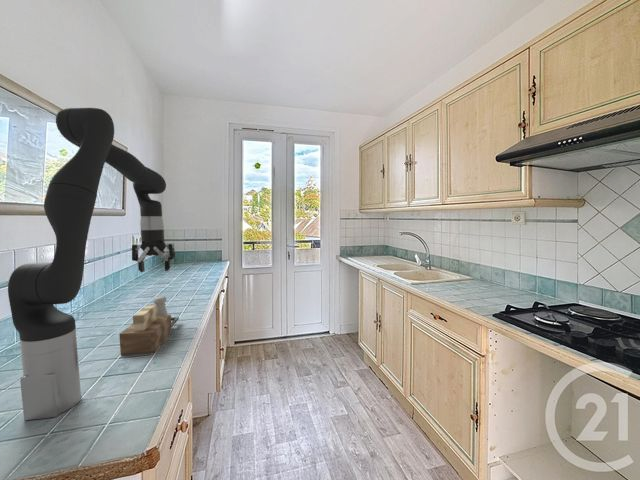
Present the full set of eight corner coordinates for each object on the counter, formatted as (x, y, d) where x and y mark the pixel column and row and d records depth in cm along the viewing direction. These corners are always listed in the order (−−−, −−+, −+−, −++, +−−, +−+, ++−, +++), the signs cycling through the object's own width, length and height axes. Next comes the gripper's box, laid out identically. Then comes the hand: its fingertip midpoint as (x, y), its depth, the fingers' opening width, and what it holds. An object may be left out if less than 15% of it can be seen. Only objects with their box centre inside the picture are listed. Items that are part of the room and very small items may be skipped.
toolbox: (155, 352, 93) (154, 334, 93) (120, 355, 92) (119, 336, 91) (170, 334, 108) (169, 318, 107) (141, 336, 106) (140, 320, 106)
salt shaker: (162, 333, 109) (160, 299, 108) (149, 332, 110) (147, 298, 109) (173, 327, 115) (171, 295, 114) (160, 326, 116) (158, 294, 115)
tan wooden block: (154, 346, 93) (153, 316, 92) (120, 349, 91) (118, 318, 91) (178, 319, 118) (177, 295, 117) (152, 321, 116) (150, 296, 115)
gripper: (126, 229, 104) (129, 274, 105) (169, 228, 107) (171, 272, 108) (135, 228, 111) (138, 270, 113) (175, 227, 114) (177, 268, 115)
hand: (154, 271), depth 110 cm, fingers open, 8 cm apart
